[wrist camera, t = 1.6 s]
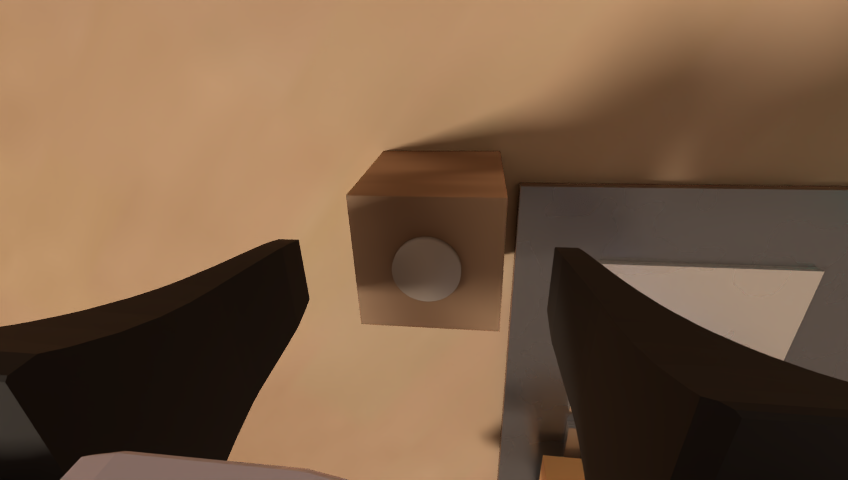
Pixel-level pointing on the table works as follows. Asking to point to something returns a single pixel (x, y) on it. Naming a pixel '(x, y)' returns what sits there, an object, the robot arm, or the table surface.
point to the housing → (430, 239)
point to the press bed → (675, 283)
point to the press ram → (561, 468)
